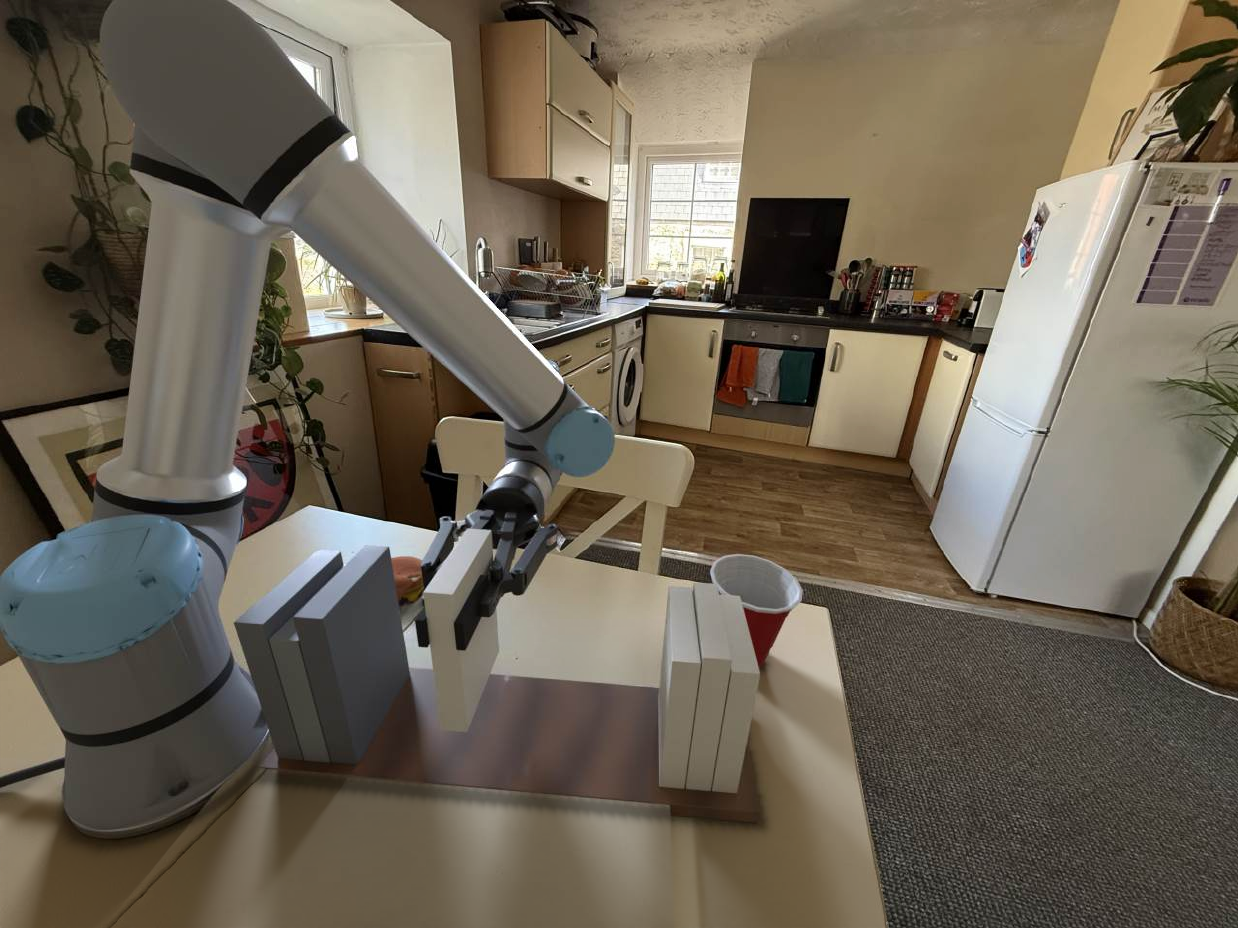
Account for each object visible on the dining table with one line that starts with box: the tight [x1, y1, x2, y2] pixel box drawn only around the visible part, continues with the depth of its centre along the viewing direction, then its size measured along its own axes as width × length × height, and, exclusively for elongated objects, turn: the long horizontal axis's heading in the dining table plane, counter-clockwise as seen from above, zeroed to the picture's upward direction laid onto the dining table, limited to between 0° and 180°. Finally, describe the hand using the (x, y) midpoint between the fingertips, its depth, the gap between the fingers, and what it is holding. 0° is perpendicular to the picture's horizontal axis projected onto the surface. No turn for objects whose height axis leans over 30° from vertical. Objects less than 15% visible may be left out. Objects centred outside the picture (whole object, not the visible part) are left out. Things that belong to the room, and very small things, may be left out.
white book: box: [423, 529, 500, 732], centre depth 46 cm, size 2×10×15 cm, turn 176°
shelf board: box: [258, 667, 761, 824], centre depth 51 cm, size 46×13×2 cm, turn 86°
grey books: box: [233, 544, 410, 765], centre depth 48 cm, size 8×11×17 cm
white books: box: [658, 582, 761, 793], centre depth 47 cm, size 7×10×16 cm
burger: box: [391, 555, 426, 607], centre depth 71 cm, size 10×9×5 cm
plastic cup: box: [709, 553, 804, 669], centre depth 61 cm, size 11×11×12 cm
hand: (440, 635), depth 40 cm, fingers closed on white book, 2 cm apart
